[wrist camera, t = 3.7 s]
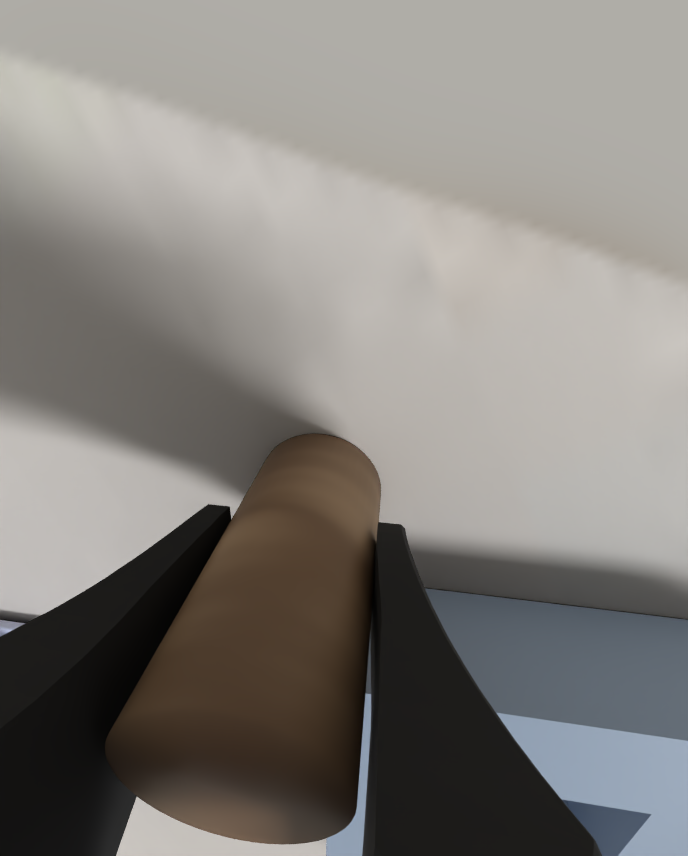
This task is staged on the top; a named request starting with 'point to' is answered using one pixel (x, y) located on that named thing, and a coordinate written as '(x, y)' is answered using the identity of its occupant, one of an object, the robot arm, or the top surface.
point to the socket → (577, 712)
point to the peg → (266, 660)
